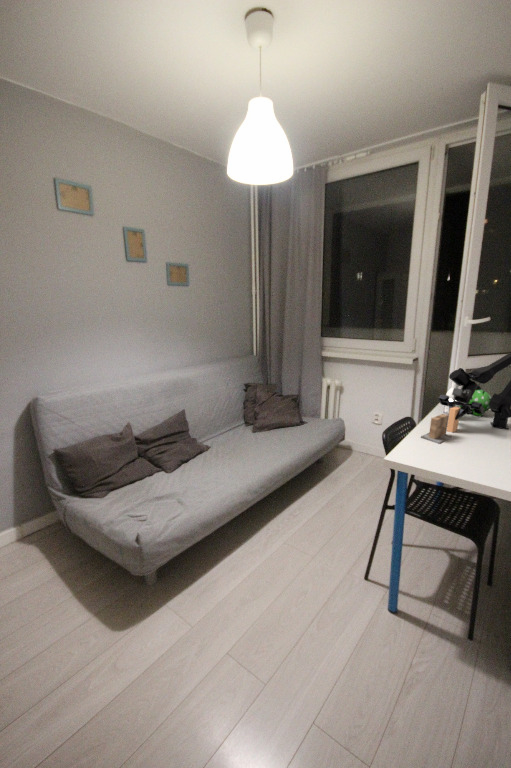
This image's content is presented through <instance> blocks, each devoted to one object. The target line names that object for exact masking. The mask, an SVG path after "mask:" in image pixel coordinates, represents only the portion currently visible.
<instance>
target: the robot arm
mask: <svg viewBox="0 0 511 768" xmlns="http://www.w3.org/2000/svg"><path fill="white" fill-rule="evenodd" d="M510 365H511V351H510V352H509V353H507V354H505V355H504V356H502V357H501V358H500V357H499V359H497V360H495V361H493V362H492V363H490V364H487V366H481V367H479V368H476V369H474V370H472V371H469V372H466V371H465V369H464V368H461V367H459V368H458V369H455V370H454V371H451V372H450V374H449V375H448V376H449V379H450V380H451V381H453V382H454V383H456V384H457V385H458V387H460V386H461V388H458V389H457V388H454V390H453V393H452V395H454V399H455V400H454V399H451V398H449V396H447V395H446V394H440V395H439V396H438V397H437V399H438V402H439V403H440V405H441V406H444V405H445V406H449V411H450V408H453V407H455V405H459V406H461V409H460V411H459V412H458V414H457V415H456V418H455V420H457V419H459V420H460V418H462V417H463V416H465V415H467V414H471V413H472V411H471V410H472V409H474V412H475V413H477V414H483V412H484V408H483V405H482V403H478V402H474V401H473V402H472V403H471V404H469V402H470V400H472V396H473V394H474V392H475V390H482V387H481V385H480V384H482V385H485V384H487V383H488V382H490V381H491V380H492V379H493V378H494V376H495V375H496V374H497V373H499V372H500V371H502V370H504V369H507V368H508V367H509V366H510ZM491 397H492V398H491V399H490V402H489V407H490V411H491V412H492V413H494V414H493V418H492V419H493V420H492V421H490V422H489V423H490V426H492V428H495V429H496V428H497V429H503V428H505V429H506V430H510V428H509V427H508V421H509V418H511V379H510V381H509V382H508V383H507V384H506V386H505V387H504V389H503V390H502V391H501V392H500V393H494V394H493V395H492V396H491ZM484 413H485V412H484ZM483 415H484V414H483Z"/></svg>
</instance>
